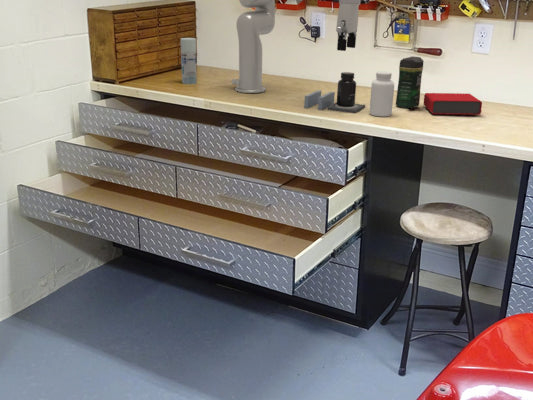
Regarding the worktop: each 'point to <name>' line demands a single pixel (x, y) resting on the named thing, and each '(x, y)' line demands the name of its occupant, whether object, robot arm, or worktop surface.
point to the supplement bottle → (346, 90)
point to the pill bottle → (382, 95)
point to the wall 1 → (312, 99)
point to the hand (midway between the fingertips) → (346, 49)
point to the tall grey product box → (188, 60)
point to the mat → (346, 108)
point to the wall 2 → (326, 100)
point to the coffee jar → (409, 82)
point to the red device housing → (452, 103)
